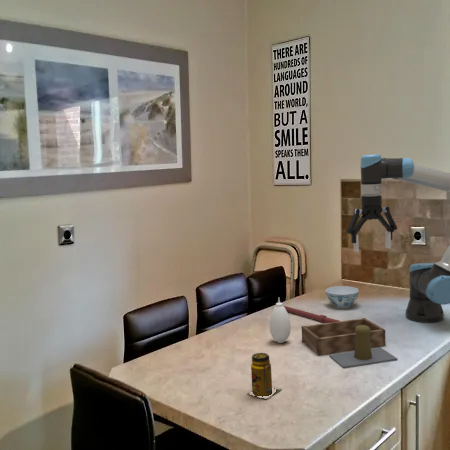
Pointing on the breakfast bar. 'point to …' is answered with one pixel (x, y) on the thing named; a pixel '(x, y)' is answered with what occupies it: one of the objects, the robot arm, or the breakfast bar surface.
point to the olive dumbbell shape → (362, 343)
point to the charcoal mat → (350, 361)
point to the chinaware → (342, 295)
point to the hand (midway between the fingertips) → (372, 249)
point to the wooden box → (340, 336)
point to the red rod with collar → (310, 315)
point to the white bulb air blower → (280, 323)
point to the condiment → (261, 375)
